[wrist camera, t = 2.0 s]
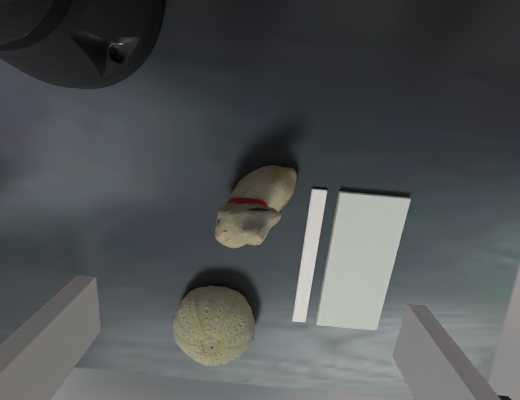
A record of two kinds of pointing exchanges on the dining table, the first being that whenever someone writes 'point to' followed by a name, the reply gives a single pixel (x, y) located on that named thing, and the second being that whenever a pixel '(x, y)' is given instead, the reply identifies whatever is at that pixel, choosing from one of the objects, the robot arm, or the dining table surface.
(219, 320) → the sea urchin shell
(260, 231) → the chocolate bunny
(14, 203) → the dining table surface
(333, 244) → the mat
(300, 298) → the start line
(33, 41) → the robot arm
